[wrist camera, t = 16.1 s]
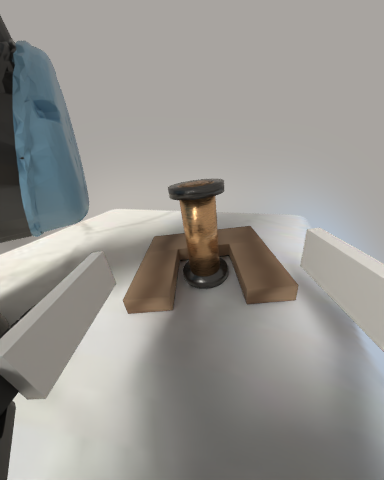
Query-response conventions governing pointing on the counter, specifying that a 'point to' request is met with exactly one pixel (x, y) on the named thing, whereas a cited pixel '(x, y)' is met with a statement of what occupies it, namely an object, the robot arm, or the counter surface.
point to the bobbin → (201, 231)
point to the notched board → (230, 243)
